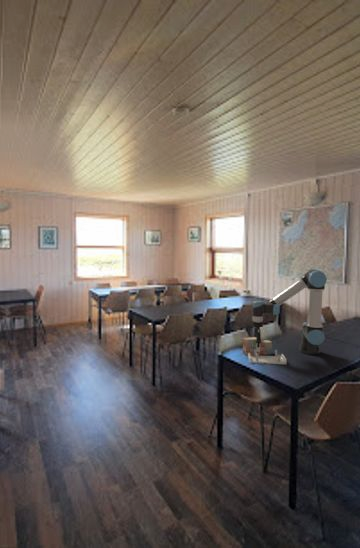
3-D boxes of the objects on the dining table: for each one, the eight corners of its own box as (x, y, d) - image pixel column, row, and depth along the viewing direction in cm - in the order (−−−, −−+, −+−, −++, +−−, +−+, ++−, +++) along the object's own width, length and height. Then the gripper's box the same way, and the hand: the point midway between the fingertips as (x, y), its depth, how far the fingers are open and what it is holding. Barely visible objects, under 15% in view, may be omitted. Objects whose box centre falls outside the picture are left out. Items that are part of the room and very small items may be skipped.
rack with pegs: (282, 358, 237) (282, 349, 236) (286, 364, 224) (286, 355, 223) (247, 356, 239) (248, 348, 239) (250, 362, 226) (250, 354, 226)
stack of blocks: (268, 351, 252) (268, 336, 251) (271, 354, 246) (272, 338, 245) (242, 353, 248) (242, 337, 247) (245, 355, 242) (246, 339, 241)
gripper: (250, 317, 258) (249, 343, 259) (254, 325, 233) (253, 353, 234) (260, 318, 257) (259, 344, 258) (265, 325, 232) (264, 354, 234)
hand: (256, 348), depth 246 cm, fingers open, 13 cm apart
